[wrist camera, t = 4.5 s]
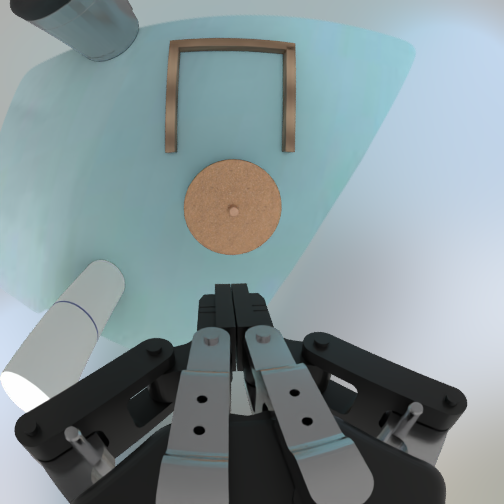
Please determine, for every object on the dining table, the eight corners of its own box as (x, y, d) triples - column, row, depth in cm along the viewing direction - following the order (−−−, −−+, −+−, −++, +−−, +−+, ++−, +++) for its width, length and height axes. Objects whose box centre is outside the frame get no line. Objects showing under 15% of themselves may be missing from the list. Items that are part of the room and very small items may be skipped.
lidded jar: (284, 197, 38) (305, 212, 29) (229, 250, 39) (233, 279, 30) (230, 141, 34) (235, 137, 25) (173, 198, 36) (160, 213, 27)
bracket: (290, 151, 35) (294, 152, 33) (168, 152, 33) (165, 152, 31) (291, 48, 30) (295, 43, 28) (172, 45, 28) (170, 40, 26)
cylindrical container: (128, 269, 38) (58, 395, 15) (120, 306, 40) (66, 433, 17) (88, 253, 36) (-7, 358, 13) (83, 291, 38) (9, 403, 15)
